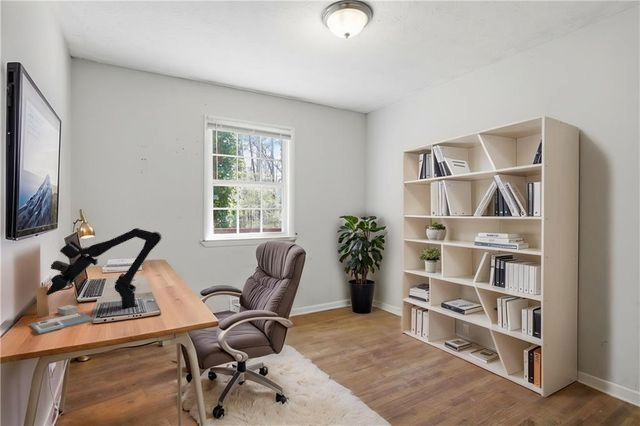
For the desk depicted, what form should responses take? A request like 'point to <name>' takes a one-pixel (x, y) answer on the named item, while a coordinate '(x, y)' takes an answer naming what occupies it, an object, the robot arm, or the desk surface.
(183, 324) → the desk surface
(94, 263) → the robot arm
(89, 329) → the desk surface
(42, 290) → the pin
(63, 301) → the desk surface
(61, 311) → the cover
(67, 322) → the board
